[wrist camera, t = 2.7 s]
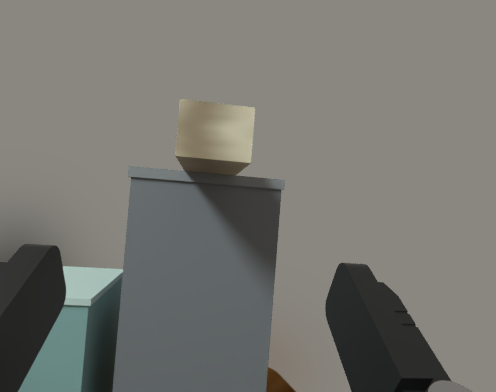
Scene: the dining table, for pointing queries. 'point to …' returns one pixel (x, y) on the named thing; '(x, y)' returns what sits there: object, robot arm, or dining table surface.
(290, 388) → the dining table surface
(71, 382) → the tall pale green pillar
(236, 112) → the beige stepped bar
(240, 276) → the stand
